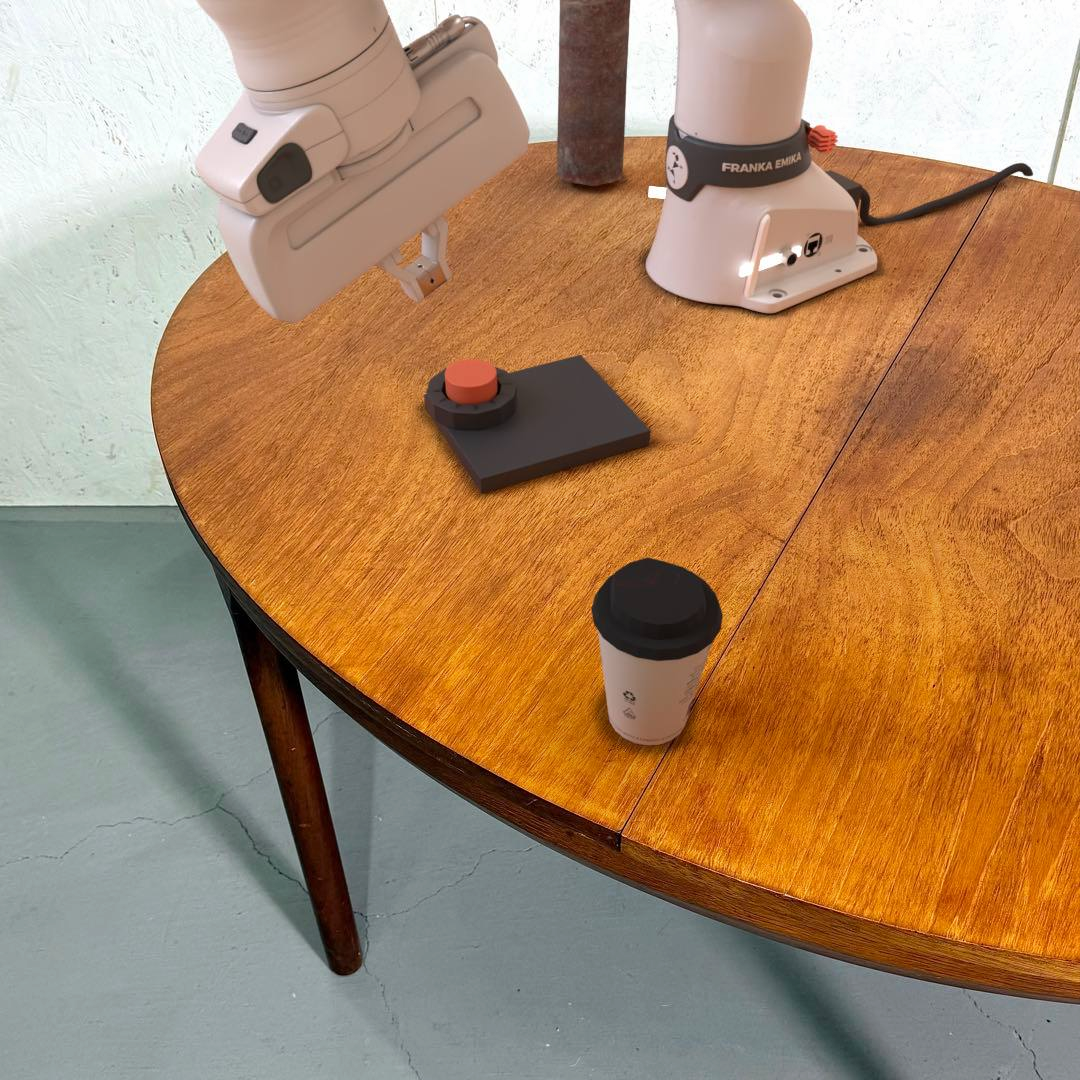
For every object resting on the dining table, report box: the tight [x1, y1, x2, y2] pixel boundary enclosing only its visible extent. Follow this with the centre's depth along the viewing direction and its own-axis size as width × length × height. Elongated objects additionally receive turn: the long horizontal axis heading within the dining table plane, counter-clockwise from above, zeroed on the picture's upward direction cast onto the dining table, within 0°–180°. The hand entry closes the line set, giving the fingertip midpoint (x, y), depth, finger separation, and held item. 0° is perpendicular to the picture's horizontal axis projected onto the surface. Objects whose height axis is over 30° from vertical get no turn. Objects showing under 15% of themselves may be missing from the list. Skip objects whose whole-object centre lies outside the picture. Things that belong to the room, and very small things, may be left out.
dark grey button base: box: [423, 354, 651, 494], centre depth 83 cm, size 14×12×3 cm
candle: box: [556, 0, 631, 187], centre depth 112 cm, size 8×7×20 cm
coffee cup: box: [590, 557, 724, 746], centre depth 59 cm, size 7×7×10 cm
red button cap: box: [445, 358, 497, 405], centre depth 82 cm, size 4×4×2 cm
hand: (430, 287), depth 70 cm, fingers closed
